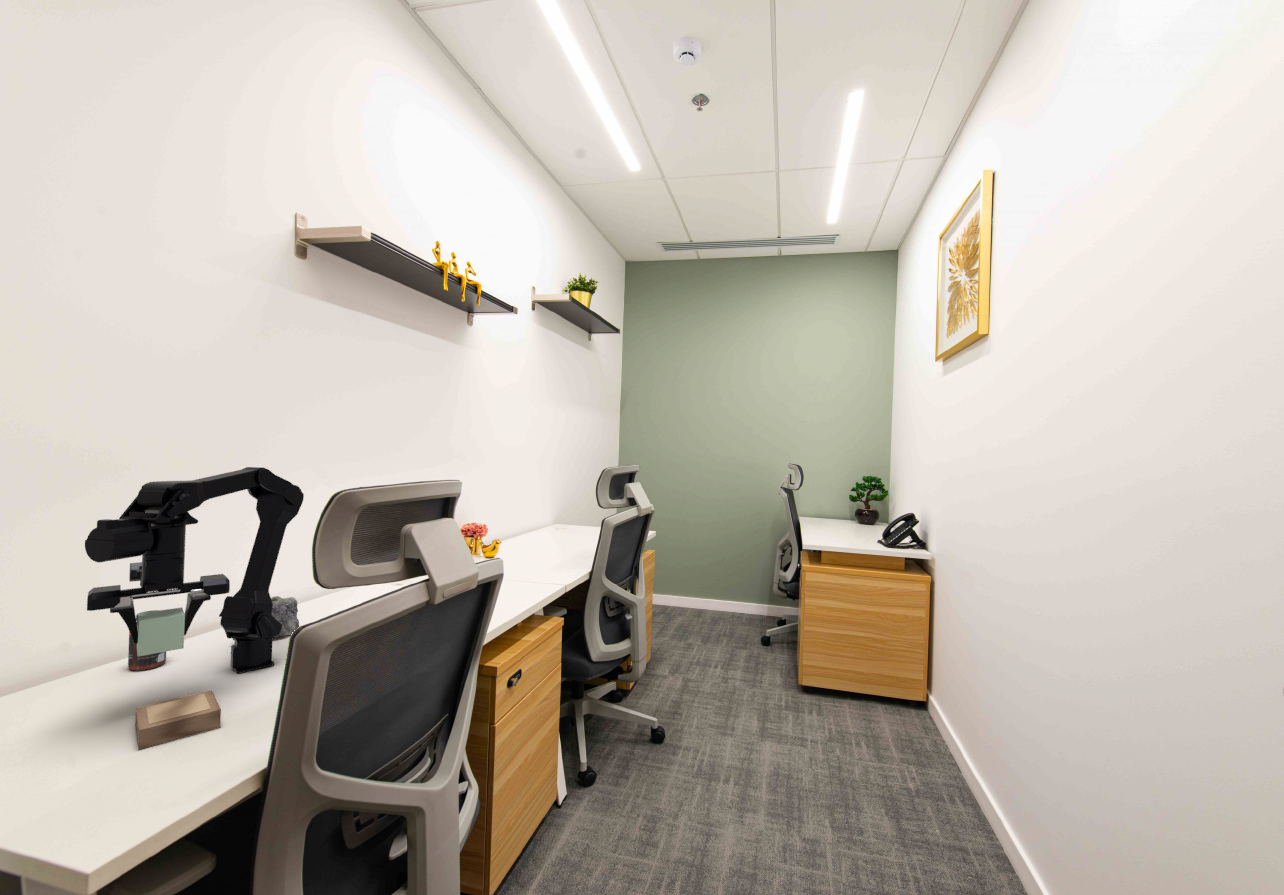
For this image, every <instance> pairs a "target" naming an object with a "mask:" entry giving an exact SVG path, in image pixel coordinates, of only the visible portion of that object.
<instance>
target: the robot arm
mask: <svg viewBox="0 0 1284 895" xmlns="http://www.w3.org/2000/svg"><path fill="white" fill-rule="evenodd" d="M245 490H247V492H248V494H249V496H251V497H252V498H253V499H255V500H256V506H255V510H256V513H257V517H258V519H259V525H258V528H257V532H256V535H255V539H254V542H253V545H252V549H251V552H250V556H249V559H248V563H247V566H246V569H245V572H244V577H243V580H242V584H241V586H240V589H239V590H237V592H236V593H235V594H233V596H232V595H231V596H230V595H229V596H228V595H227V596H226V597H225V599H224V601H223V607H222V609H221V611H220V613H219V614H218V617H220V627H222V629H223V630H224V633H225V635H226V638H227V639H232V638H235V641H234V644H233V645H231V646H230V667H231V668H232V669H233V670H234V671H235V673H236V674H241V673H245V672H249V671H254V670H259V669H263V668H268V667H272V666H274V665H275V662H274V661H273V639H275V638H276V637H278V636H277V635H279V634H280V631H281V628H282V624H281V623H280V622H279V621H277V620H276V619H275V618H274V617H273V616H272V615H271V614H272V607H273V603H272V600H271V598H272V597H271V595H270V592H269V591H270V586H271V583H272V579H273V576H274V572H275V569H276V564H277V560H278V558H279V557H278V556H279V554H280V550H281V547H282V542H283V538H284V535H285V532H286V529H287V526H288V525H289V523H291V521H292V520H293V519H294V518H295V517H296V516H297V515H298V514H299V511H300V509H301V507H302V504H303V502H304V498H305V493H304V492H302V489H301V488H300V486H299V485H295V484H294V483H292V482H291V481H289V480H287V479H284V478H283V477H281V476H279V475H277V474H274V472H272V471H271V470H270V469H268V468H266V467H257V466H256V467H255V466H253V467H252V466H247V467H244V468H241V469H238V470H234V471H228V472H224V473H220V474H219V473H218V474H216V475H211V476H205V477H202V478H198V479H197V478H196V479H192V480H165V481H164V480H162V481H158V480H157V481H150V482H146V483H144V484H143V485H141V488H140V489H139V491H138V494H137V496H136V497H135V498H134V499H133V500H132V501H131V503H130V504H129V506H128V507H127V508H126V509H125V510H124V512H123V513H122V514H121V515H120V516H119V517H118V518H117V519H106V518H105V519H98V520H97V521H96V527H95V528H93V529H91V531H90V532H89V534H88V536H87V538H86V539H85V541H84V549H85V553H86V555H87V556H88V557H89V559H90V560H91V561H93V562H95V563H104V562H109V561H117V560H123V559H124V560H125V559H129V558H136V557H140V556H141V562H130V563H129V575H128V576H129V578H128V579H129V582H130V583H131V582H139V586H140V587H136V588H127V589H121V584H116V585H115V584H114V585H108V586H107V585H106V586H97V587H92V588H91V589H90V590H89V591H88V592H87V599H86V600H87V601H86V611H91V612H92V611H100V610H109V613H110V614H115V613H117V614H119V616H120V617H121V619H122V621H123V622H124V623H125V624H126V627H127V629H128V632H129V631H130V634H131V636H132V638H133V641H134V643H135V644H137V643H138V630H137V623H136V622H137V621H136V610H135V604H134V600H141V599H148V598H155V597H157V598H158V597H165V596H172V595H173V596H174V595H180V594H187V596H186V604H185V610H184V614H185V626H184V637H185V636H186V635H187V633H188V631H189V629H190V626H191V625H192V622H193V620H194V618H195V616H196V614H197V612H198V611H199V610H200V608H201V607H202V605H203V603H204V602H207V601H210V600H211V599H212V596H217V595H224V594H228V593H230V591H231V590H230V583H231V582H230V579H229V578H228V577H227V575H225V574H224V573H218V574H209V575H201V576H199V577H200V578H199V581H188V582H184V580H185V557H186V554H185V553H186V534H187V533H186V532H187V530H186V528H187V527H186V526H188V525H189V526H190V525H196V524H198V523H199V520H198V519H197V518H195V517H194V516H193V515H191V514H190V513H189V512H190V511H192V510H194V509H196V508H199V507H201V505H202V504H203V503H204V502H206V501H209V500H210V499H215V498H218V497H222V496H227V495H230V494H233V493H238V492H241V491H245ZM275 636H276V637H275Z"/></svg>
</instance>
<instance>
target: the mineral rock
mask: <svg viewBox="0 0 1284 895" xmlns="http://www.w3.org/2000/svg"><path fill="white" fill-rule="evenodd" d="M271 600H272V603H273V607H272V614H271V615H272V616H273V617H274V618H275V619H276V620H277V621H279V622H280V623H281V624H282V628H281V631H280V634H279V635H277V636H275V638H276V637H282V636H289V635H290V636H291V634H292V632H294V630H296V629H297V628H298V627H299V628H300V620H299V619H298V613H299V610H298V601H297V599H296V598H295V597H293V596H290V597H284V598H282V597H281V596H278V595H277V596H272V597H271ZM231 639H232V640H233V641H234V642H235V638H231Z"/></svg>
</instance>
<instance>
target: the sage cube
mask: <svg viewBox="0 0 1284 895" xmlns="http://www.w3.org/2000/svg"><path fill="white" fill-rule="evenodd" d="M158 610H159V609H158ZM151 611H152V610H151ZM143 612H144V613H141V612H138V613H137V614H138V628H137V630H138V643H137V655H138V656H143V655H149V654H155V653H160V652H166V653H167V652H172V651H176V650H177V651H178V650H182V649H184V645H185V636H184V626H185V610H183V607H175V608H168V609H160V610H159V611H152V612H145V611H143Z"/></svg>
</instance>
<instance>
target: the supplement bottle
mask: <svg viewBox="0 0 1284 895" xmlns="http://www.w3.org/2000/svg"><path fill="white" fill-rule="evenodd" d="M152 611H159V609H155V610H154V609H153V610H144V611H141V612H140V613H144V612H152ZM135 616H136V623H137V628H138V613H137V614H135ZM128 632H129V633H128V652H127V653H128V661H127V667H128V668H127V669H129V670H130V671H145V670H150V669H151V670H152V669H154V668H158V667H161V666H162V665H164V664H165V663H166V661H167V651H166V652H160V653H155V654H149V655H143V656H138V655H137V644H135V643H134V641H133V638H132V636H131V634H130V631H129V630H128Z"/></svg>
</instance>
